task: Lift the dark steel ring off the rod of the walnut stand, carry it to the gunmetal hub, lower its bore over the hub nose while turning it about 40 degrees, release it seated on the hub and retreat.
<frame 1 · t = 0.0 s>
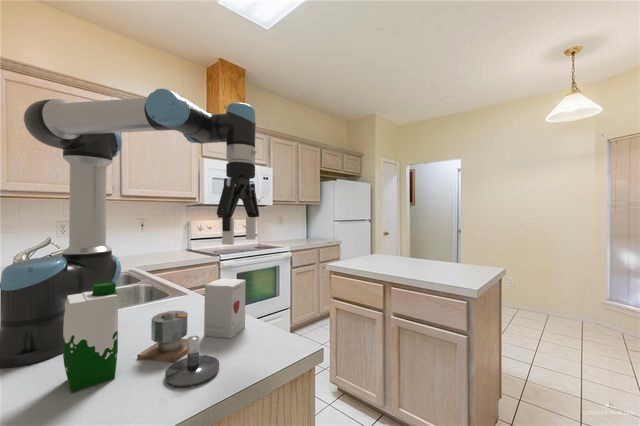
hand: (240, 241, 77), 28 cm above the counter, fingers open, 13 cm apart
hub: (193, 372, 64), on the counter
milk carton: (91, 379, 61), on the counter
clutch ring: (169, 335, 73), point 4 cm above the counter, touching stand
supplement box: (225, 332, 86), on the counter
stand: (169, 350, 73), on the counter
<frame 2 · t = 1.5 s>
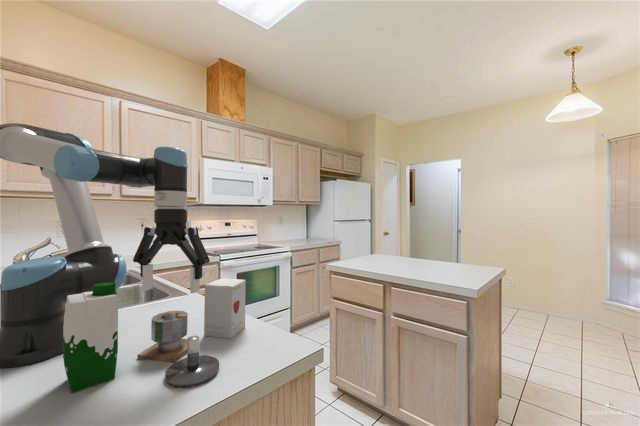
hand: (171, 290, 73), 16 cm above the counter, fingers open, 13 cm apart
nothing on the counter moved.
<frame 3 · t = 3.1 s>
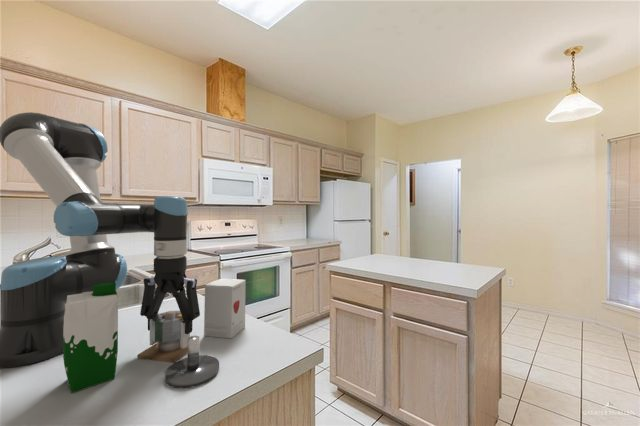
hand: (169, 344, 73), 2 cm above the counter, fingers closed on clutch ring, 8 cm apart
clutch ring: (169, 335, 73), point 4 cm above the counter, touching gripper, stand
everything else where it was.
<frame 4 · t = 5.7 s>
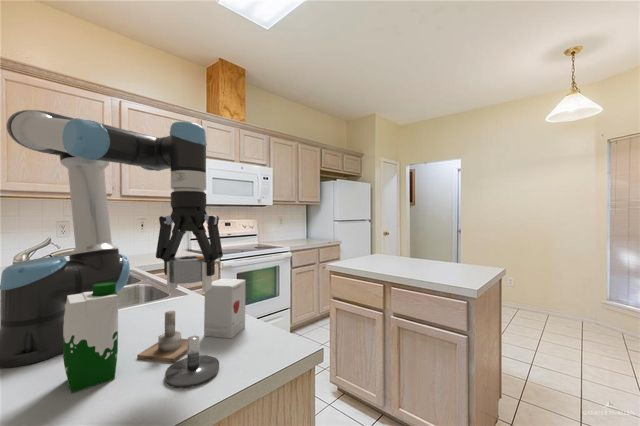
hand: (189, 289, 66), 18 cm above the counter, fingers closed on clutch ring, 8 cm apart
clutch ring: (189, 279, 66), point 20 cm above the counter, touching gripper
everything else where it was.
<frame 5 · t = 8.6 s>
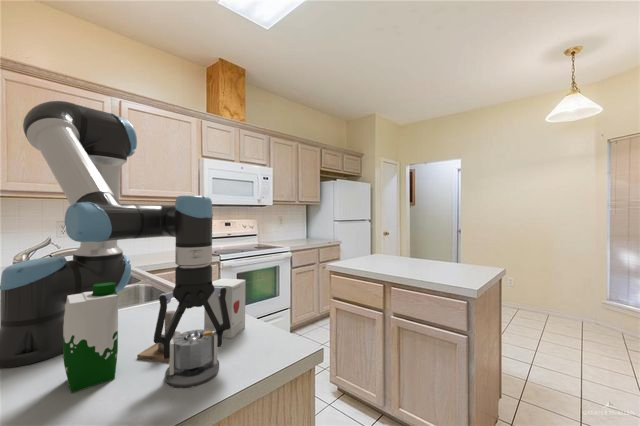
hand: (193, 366, 64), 1 cm above the counter, fingers closed on clutch ring, hub, 8 cm apart
clutch ring: (193, 359, 64), point 3 cm above the counter, touching gripper
everything else where it was.
when the fingers open (1 cm above the counter, at t = 9.1 s): clutch ring stays where it is, resting on hub.
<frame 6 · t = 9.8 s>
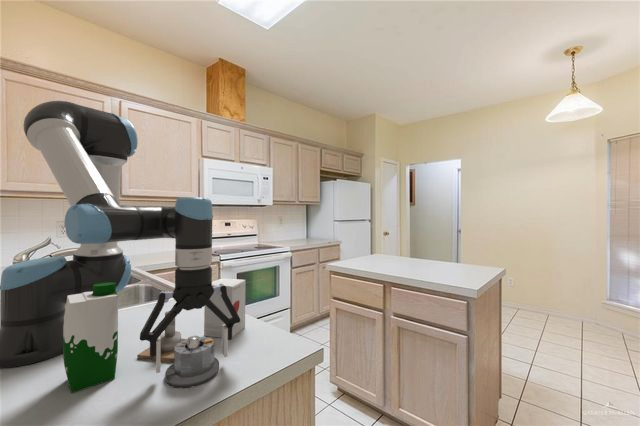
hand: (193, 361, 64), 3 cm above the counter, fingers open, 13 cm apart
clutch ring: (194, 367, 64), point 1 cm above the counter, touching hub
everything else where it was.
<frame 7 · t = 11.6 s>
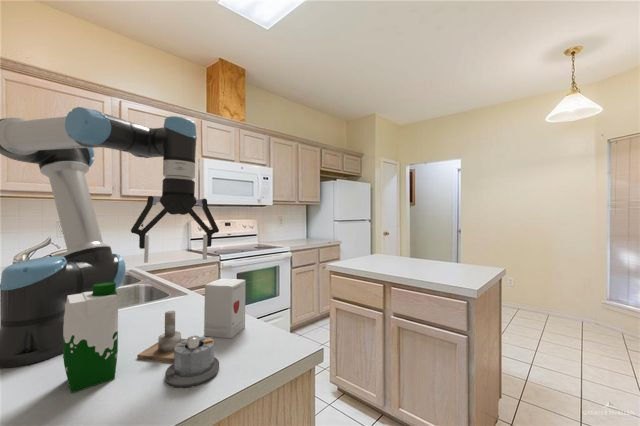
hand: (176, 260, 74), 23 cm above the counter, fingers open, 13 cm apart
nothing on the counter moved.
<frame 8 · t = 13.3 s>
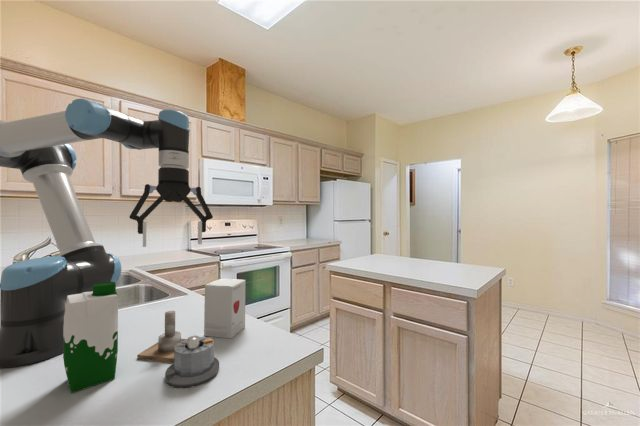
hand: (173, 245, 79), 27 cm above the counter, fingers open, 13 cm apart
nothing on the counter moved.
at the end: clutch ring 0.2 cm off-centre on the hub, point 1.2 cm above the hub's base; clutch ring tilted 0°; the gripper is holding nothing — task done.
